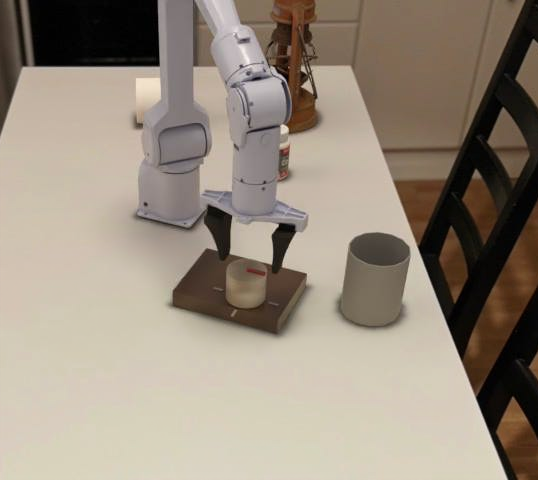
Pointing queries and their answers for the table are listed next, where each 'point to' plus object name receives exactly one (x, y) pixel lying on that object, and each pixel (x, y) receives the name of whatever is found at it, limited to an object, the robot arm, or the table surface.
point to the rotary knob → (246, 283)
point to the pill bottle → (283, 153)
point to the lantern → (295, 58)
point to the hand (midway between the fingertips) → (250, 263)
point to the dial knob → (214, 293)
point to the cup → (375, 278)
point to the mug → (146, 95)
